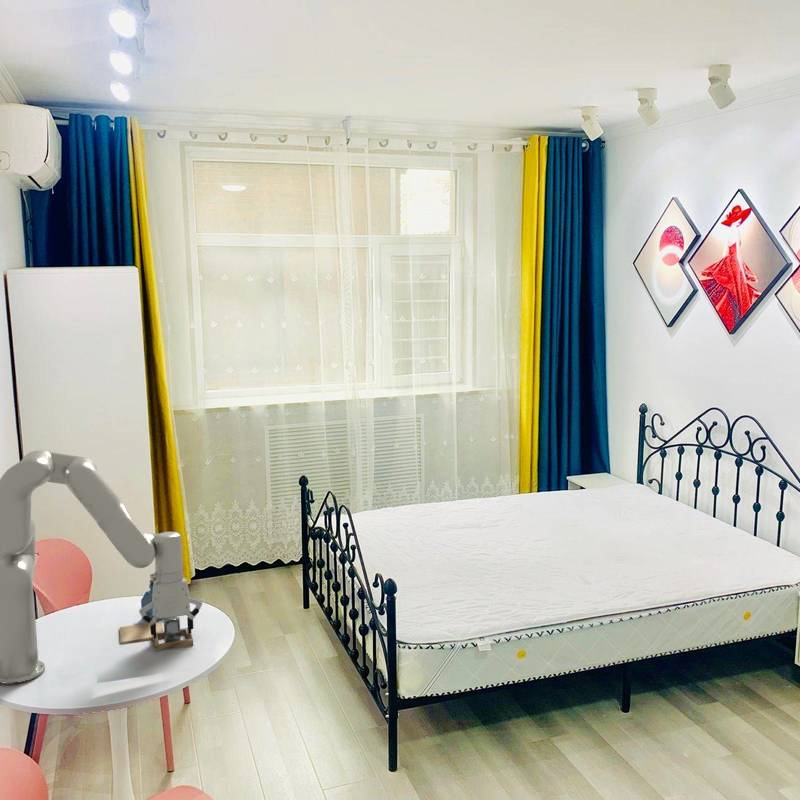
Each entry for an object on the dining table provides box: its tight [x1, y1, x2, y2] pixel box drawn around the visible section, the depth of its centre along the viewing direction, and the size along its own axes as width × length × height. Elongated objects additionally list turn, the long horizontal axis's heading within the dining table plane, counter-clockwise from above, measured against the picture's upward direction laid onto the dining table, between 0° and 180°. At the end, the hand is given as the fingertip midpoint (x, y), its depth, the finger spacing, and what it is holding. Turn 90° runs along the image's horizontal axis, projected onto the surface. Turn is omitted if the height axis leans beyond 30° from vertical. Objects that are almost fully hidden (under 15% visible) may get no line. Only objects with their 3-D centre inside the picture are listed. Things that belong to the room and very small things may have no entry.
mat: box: [119, 620, 165, 645], centre depth 237 cm, size 12×12×1 cm
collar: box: [152, 627, 194, 652], centre depth 231 cm, size 10×10×2 cm
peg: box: [163, 616, 182, 643], centre depth 230 cm, size 4×4×6 cm
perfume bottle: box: [140, 579, 165, 622], centre depth 249 cm, size 6×6×12 cm
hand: (172, 634), depth 231 cm, fingers open, 9 cm apart
